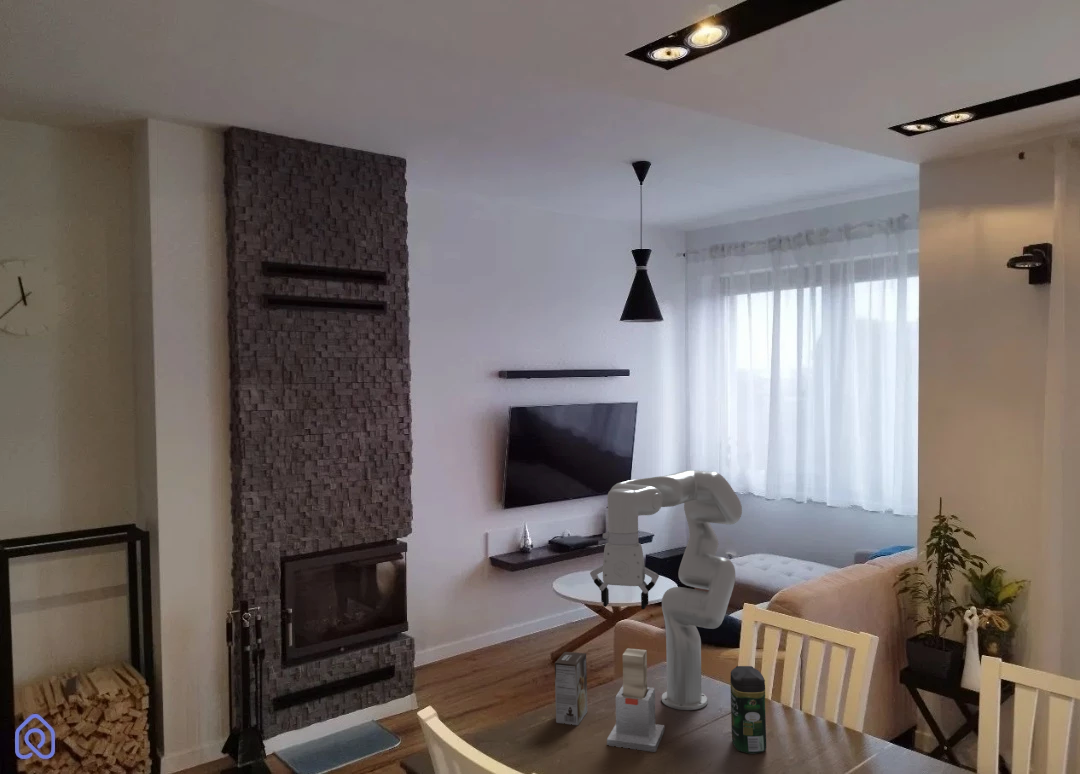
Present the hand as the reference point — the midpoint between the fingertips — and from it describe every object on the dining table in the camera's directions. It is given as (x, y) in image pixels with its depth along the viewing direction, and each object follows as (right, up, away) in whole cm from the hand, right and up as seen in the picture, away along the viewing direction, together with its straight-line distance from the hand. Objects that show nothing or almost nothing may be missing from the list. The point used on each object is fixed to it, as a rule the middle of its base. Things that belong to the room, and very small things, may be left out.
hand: (624, 606), depth 195 cm
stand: (+3, -33, 0) cm, 33 cm away
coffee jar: (+30, -33, -6) cm, 44 cm away
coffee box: (-13, -33, +12) cm, 38 cm away
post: (+3, -31, 0) cm, 31 cm away
